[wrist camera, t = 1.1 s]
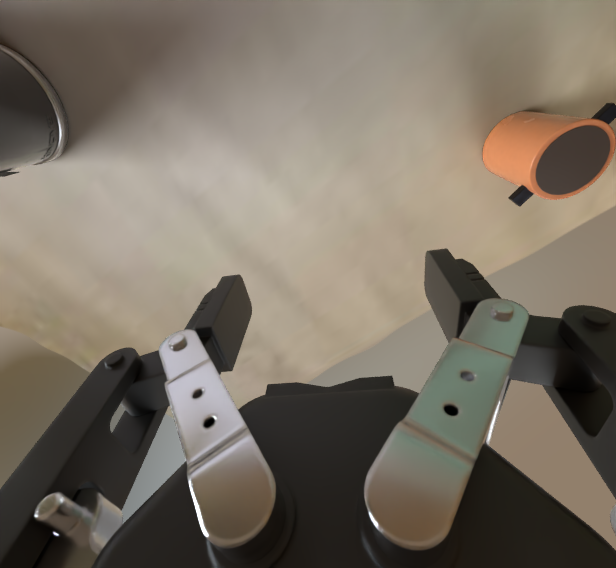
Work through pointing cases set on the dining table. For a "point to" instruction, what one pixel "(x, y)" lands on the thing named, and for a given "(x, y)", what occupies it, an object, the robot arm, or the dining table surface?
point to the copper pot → (550, 152)
